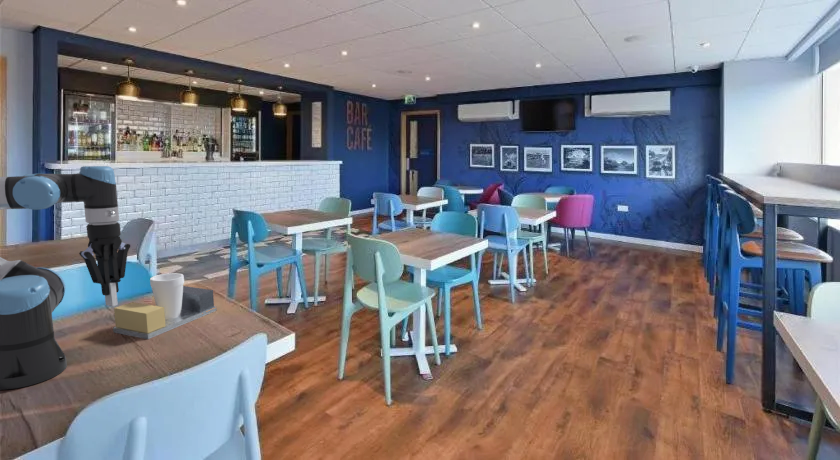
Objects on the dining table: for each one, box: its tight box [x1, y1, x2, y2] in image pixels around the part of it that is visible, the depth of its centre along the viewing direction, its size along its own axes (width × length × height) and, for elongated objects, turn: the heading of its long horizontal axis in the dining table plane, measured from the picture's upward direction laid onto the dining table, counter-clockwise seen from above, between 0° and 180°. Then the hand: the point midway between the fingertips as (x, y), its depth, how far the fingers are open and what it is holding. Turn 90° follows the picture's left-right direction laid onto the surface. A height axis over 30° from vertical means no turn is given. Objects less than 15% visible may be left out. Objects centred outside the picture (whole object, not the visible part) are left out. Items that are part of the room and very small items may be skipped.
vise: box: [112, 285, 217, 340], centre depth 143 cm, size 26×14×8 cm, turn 161°
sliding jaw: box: [113, 301, 166, 333], centre depth 134 cm, size 6×13×6 cm, turn 71°
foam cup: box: [149, 272, 185, 319], centre depth 144 cm, size 10×9×13 cm
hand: (111, 304), depth 125 cm, fingers closed
